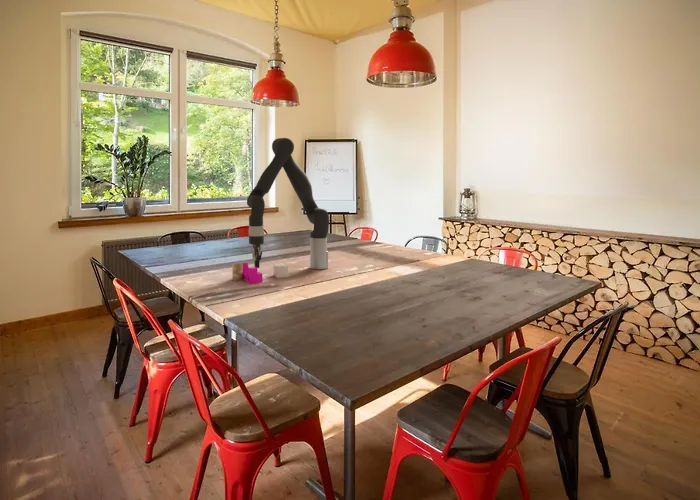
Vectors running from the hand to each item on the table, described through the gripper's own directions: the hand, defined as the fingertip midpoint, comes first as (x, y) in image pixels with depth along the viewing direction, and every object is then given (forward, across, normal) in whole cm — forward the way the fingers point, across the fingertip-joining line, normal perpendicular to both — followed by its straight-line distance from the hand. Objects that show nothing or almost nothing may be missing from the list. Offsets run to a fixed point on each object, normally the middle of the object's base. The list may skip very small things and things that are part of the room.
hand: (257, 267), depth 236 cm
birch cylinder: (+4, -6, +11) cm, 13 cm away
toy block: (+4, -8, +5) cm, 10 cm away
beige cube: (+4, -6, -11) cm, 13 cm away
